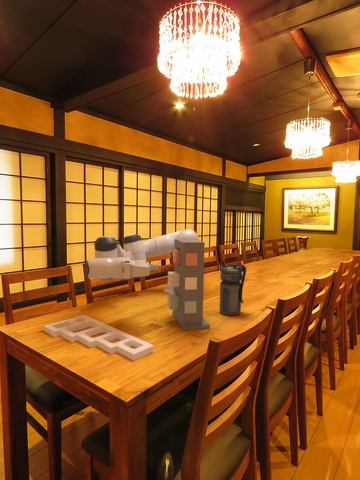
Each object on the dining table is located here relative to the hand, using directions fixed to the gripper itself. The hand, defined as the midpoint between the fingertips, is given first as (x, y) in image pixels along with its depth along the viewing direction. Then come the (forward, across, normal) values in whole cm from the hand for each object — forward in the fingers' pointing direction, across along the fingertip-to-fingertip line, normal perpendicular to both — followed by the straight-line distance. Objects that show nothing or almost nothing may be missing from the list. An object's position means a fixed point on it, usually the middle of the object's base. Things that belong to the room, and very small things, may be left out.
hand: (158, 266), depth 127 cm
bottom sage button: (+8, -1, -19) cm, 20 cm away
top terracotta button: (+10, -1, +1) cm, 10 cm away
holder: (-26, +14, -25) cm, 39 cm away
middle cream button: (+8, -1, -9) cm, 12 cm away
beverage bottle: (+37, -7, -25) cm, 45 cm away
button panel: (+14, -1, -25) cm, 29 cm away
